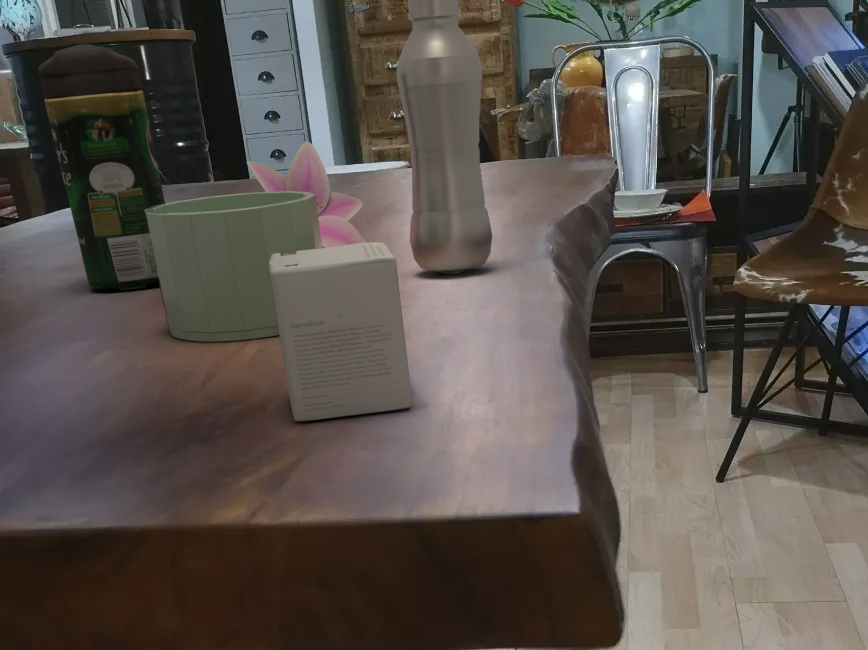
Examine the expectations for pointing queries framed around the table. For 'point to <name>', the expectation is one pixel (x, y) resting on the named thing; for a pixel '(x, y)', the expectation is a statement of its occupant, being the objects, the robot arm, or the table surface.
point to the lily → (313, 179)
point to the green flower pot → (227, 260)
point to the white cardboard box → (341, 330)
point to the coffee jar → (105, 161)
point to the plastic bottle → (443, 140)
